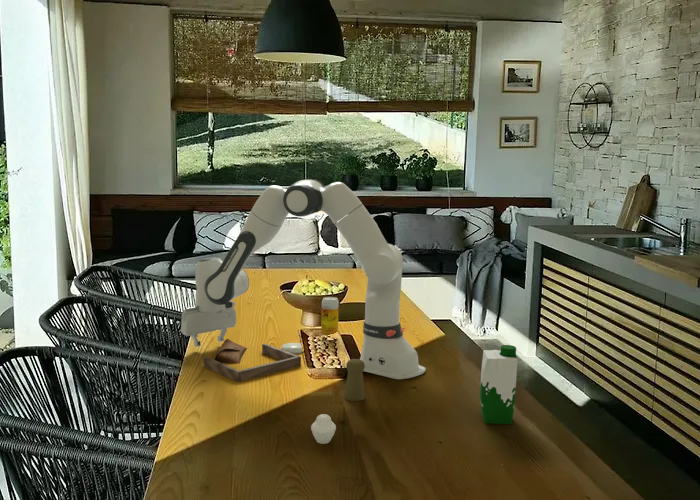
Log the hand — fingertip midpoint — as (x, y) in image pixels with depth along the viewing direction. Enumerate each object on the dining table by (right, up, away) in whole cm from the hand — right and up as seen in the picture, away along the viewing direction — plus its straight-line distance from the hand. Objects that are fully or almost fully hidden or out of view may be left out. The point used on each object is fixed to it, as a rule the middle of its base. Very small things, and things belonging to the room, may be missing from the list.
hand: (209, 343), depth 257 cm
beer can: (+41, 0, +16) cm, 44 cm away
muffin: (+42, -15, -73) cm, 86 cm away
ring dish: (+29, -2, 0) cm, 29 cm away
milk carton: (+87, -13, -56) cm, 105 cm away
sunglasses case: (+9, -4, -7) cm, 12 cm away
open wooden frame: (+17, -5, -18) cm, 25 cm away
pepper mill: (+50, -10, -43) cm, 66 cm away
